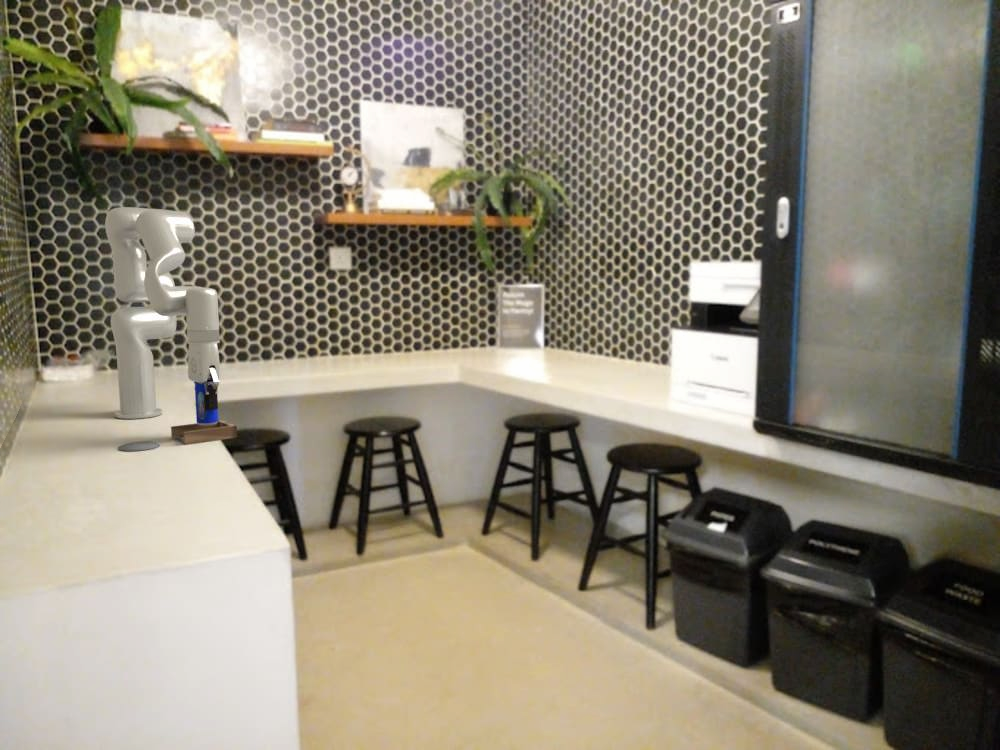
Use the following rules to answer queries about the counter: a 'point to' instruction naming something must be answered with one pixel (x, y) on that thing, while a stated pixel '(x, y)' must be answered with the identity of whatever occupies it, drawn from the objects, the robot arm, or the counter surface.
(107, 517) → the counter surface
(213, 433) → the brown hollow open frame
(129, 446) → the pad
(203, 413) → the beverage can
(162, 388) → the counter surface
